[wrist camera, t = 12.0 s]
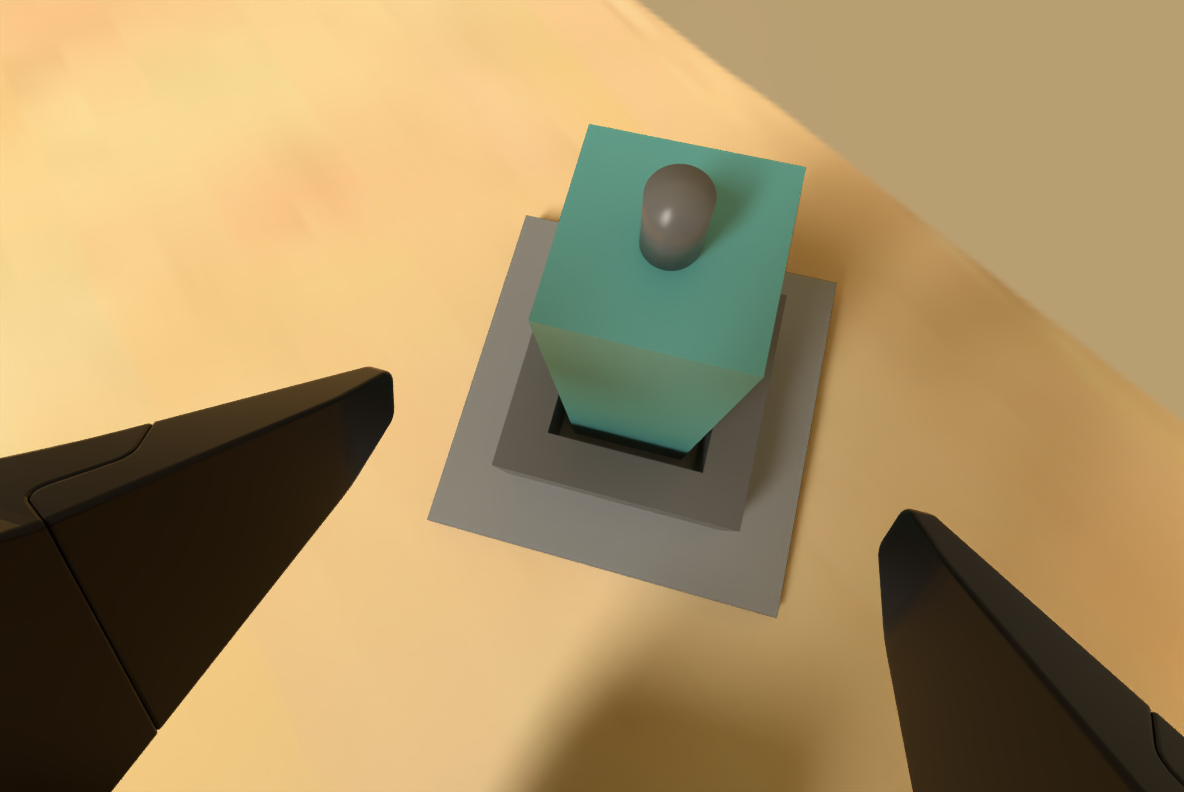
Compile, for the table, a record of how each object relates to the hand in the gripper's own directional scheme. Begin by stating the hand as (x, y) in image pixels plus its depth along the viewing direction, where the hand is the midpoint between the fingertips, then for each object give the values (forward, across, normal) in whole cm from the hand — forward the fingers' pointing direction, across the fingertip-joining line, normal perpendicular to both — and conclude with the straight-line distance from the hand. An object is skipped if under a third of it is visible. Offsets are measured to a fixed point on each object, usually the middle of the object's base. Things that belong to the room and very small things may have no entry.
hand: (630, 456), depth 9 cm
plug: (+12, 0, +6) cm, 13 cm away
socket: (+12, 0, +7) cm, 14 cm away
